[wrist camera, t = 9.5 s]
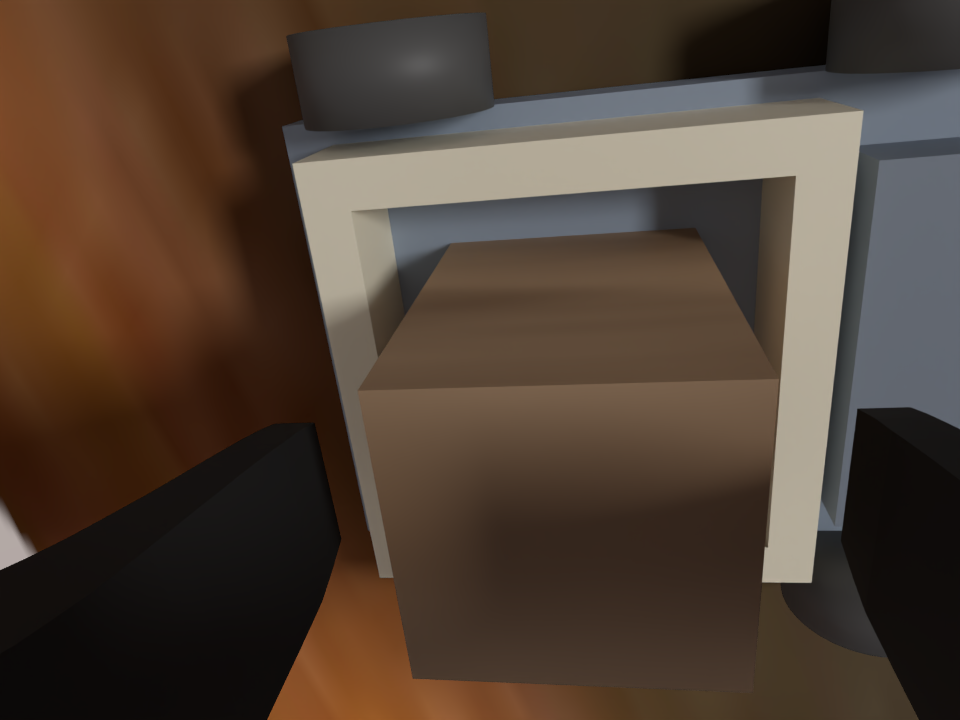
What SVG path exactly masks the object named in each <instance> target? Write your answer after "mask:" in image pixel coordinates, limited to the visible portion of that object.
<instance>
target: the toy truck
mask: <svg viewBox="0 0 960 720" xmlns="http://www.w3.org/2000/svg"><path fill="white" fill-rule="evenodd" d="M286 37H287V42H288V47H289V52H290V57H291V62H292V67H293V72H294V77H295V82H296V87H297V92H298V97H299V102H300V107H301V112H302V117H303V120H301V121H298V122H295V123H291V124H288V125H285V126H282V128H283V133H284V138H285V143H286V147H287V152H288V157H289V161H290V166H291V171H292V175H293V180H294V185H295V190H296V194H297V199H298V204H299V208H300V213H301V218H302V222H303V227H304V232H305V236H306V241H307V246H308V251H309V255H310V260H311V265H312V269H313V274H314V279H315V283H316V288H317V293H318V298H319V302H320V307H321V312H322V316H323V321H324V326H325V330H326V335H327V340H328V344H329V349H330V354H331V359H332V363H333V368H334V373H335V377H336V382H337V387H338V391H339V396H340V401H341V405H342V410H343V415H344V420H345V424H346V429H347V434H348V438H349V443H350V448H351V452H352V457H353V462H354V467H355V471H356V476H357V481H358V485H359V490H360V495H361V499H362V504H363V509H364V513H365V518H366V523H367V528H368V531H370V534H371V538H372V543H373V548H374V552H375V557H376V562H377V567H378V571H379V576H380V578H393V573H392V568H391V562H390V557H389V552H388V547H387V542H386V536H385V531H384V526H383V521H382V516H381V510H380V505H379V500H378V495H377V490H376V484H375V479H374V474H373V469H372V464H371V459H370V453H369V448H368V443H367V438H366V433H365V427H364V422H363V417H362V412H361V407H360V401H359V396H358V389H359V387H360V386H361V384H362V383H363V381H364V380H365V378H366V376H367V375H368V373H369V372H370V370H371V369H372V367H373V365H374V364H375V362H376V361H377V359H378V358H379V356H380V354H381V353H382V351H383V350H384V348H385V347H386V345H387V343H388V342H389V340H390V339H391V337H392V336H393V334H394V332H395V331H396V329H397V328H398V326H399V325H400V323H401V321H402V320H403V318H404V317H405V315H406V314H407V312H408V310H409V309H410V307H411V306H412V304H413V303H414V301H415V299H416V298H417V296H418V295H419V293H420V291H421V290H422V288H423V287H424V285H425V284H426V282H427V280H428V279H429V277H430V276H431V274H432V273H433V271H434V269H435V268H436V266H437V265H438V263H439V262H440V260H441V258H442V257H443V255H444V254H445V252H446V251H447V249H448V247H449V246H450V244H451V243H460V242H476V241H492V240H508V239H524V238H540V237H556V236H572V235H588V234H604V233H620V232H636V231H652V230H668V229H684V228H696V230H697V232H698V233H699V235H700V237H701V239H702V241H703V242H704V244H705V246H706V248H707V250H708V251H709V253H710V255H711V257H712V259H713V261H714V262H715V264H716V266H717V268H718V270H719V271H720V273H721V275H722V277H723V279H724V280H725V282H726V284H727V286H728V288H729V289H730V291H731V293H732V295H733V297H734V299H735V300H736V302H737V304H738V306H739V308H740V309H741V311H742V313H743V315H744V317H745V318H746V320H747V322H748V324H749V326H750V328H751V329H752V331H753V333H754V335H755V337H756V338H757V340H758V342H759V344H760V346H761V347H762V349H763V351H764V353H765V355H766V356H767V358H768V360H769V362H770V364H771V366H772V367H773V369H774V371H775V373H776V375H777V376H778V378H779V384H778V396H777V408H776V420H775V432H774V444H773V456H772V468H771V480H770V492H769V504H768V516H767V528H766V540H765V552H764V564H763V577H762V582H781V590H782V594H783V597H784V599H785V602H786V604H787V605H788V607H789V608H790V610H791V611H792V612H793V613H794V615H795V616H796V617H797V618H798V619H799V620H800V621H801V622H802V623H803V624H804V625H806V626H807V627H808V628H809V629H811V630H812V631H813V632H815V633H817V634H818V635H820V636H821V637H823V638H825V639H827V640H829V641H830V642H832V643H834V644H837V645H839V646H841V647H844V648H847V649H850V650H853V651H856V652H859V653H863V654H867V655H872V656H879V657H887V655H886V653H885V651H884V649H883V647H882V645H881V643H880V641H879V639H878V637H877V635H876V633H875V631H874V629H873V627H872V625H871V623H870V621H869V619H868V617H867V615H866V613H865V610H864V607H863V605H862V602H861V599H860V596H859V594H858V591H857V588H856V585H855V582H854V580H853V577H852V574H851V570H850V567H849V564H848V561H847V558H846V555H845V552H844V549H843V546H842V543H841V534H842V526H843V519H844V511H845V503H846V495H847V487H848V479H849V471H850V463H851V455H852V447H853V439H854V432H855V424H856V416H857V409H859V408H897V407H912V408H914V409H917V410H919V411H922V412H924V413H927V414H929V415H931V416H934V417H936V418H938V419H940V420H942V421H944V422H946V423H948V424H951V425H953V426H955V427H957V428H959V429H960V0H831V10H830V22H829V33H828V44H827V56H826V65H820V66H810V67H800V68H791V69H781V70H772V71H762V72H752V73H743V74H733V75H723V76H714V77H704V78H695V79H685V80H675V81H666V82H656V83H647V84H637V85H627V86H618V87H608V88H598V89H589V90H579V91H570V92H560V93H550V94H541V95H531V96H521V97H512V98H502V99H494V96H493V85H492V74H491V64H490V53H489V42H488V32H487V21H486V13H464V14H451V15H439V16H429V17H419V18H409V19H400V20H391V21H382V22H374V23H365V24H357V25H350V26H342V27H335V28H328V29H321V30H314V31H308V32H302V33H296V34H292V35H288V36H286Z"/></svg>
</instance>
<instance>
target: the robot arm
mask: <svg viewBox="0 0 960 720" xmlns="http://www.w3.org/2000/svg"><path fill="white" fill-rule="evenodd" d="M340 542H341V535H340V531H339V527H338V522H337V518H336V514H335V509H334V505H333V501H332V496H331V492H330V488H329V484H328V479H327V475H326V471H325V466H324V462H323V458H322V453H321V449H320V445H319V440H318V436H317V432H316V427H315V423H283V424H273V425H271V426H268V427H266V428H264V429H261V430H259V431H257V432H255V433H253V434H251V435H249V436H248V437H246V438H244V439H242V440H240V441H238V442H237V443H235V444H233V445H231V446H229V447H228V448H226V449H224V450H222V451H221V452H219V453H217V454H216V455H214V456H212V457H210V458H209V459H207V460H205V461H204V462H202V463H200V464H198V465H197V466H195V467H193V468H192V469H190V470H188V471H187V472H185V473H183V474H181V475H180V476H178V477H176V478H175V479H173V480H171V481H169V482H168V483H166V484H164V485H163V486H161V487H159V488H158V489H156V490H154V491H152V492H151V493H149V494H147V495H145V496H144V497H142V498H140V499H138V500H136V501H134V502H133V503H131V504H129V505H127V506H125V507H123V508H122V509H120V510H118V511H116V512H114V513H113V514H111V515H109V516H107V517H105V518H103V519H102V520H100V521H98V522H96V523H94V524H92V525H91V526H89V527H87V528H85V529H83V530H81V531H80V532H78V533H76V534H74V535H72V536H70V537H68V538H66V539H64V540H62V541H60V542H58V543H57V544H55V545H53V546H51V547H49V548H46V549H44V550H42V551H40V552H38V553H36V554H34V555H32V556H30V557H28V558H26V559H24V560H22V561H19V562H18V563H15V564H13V565H11V566H9V567H6V568H4V569H2V570H0V720H267V719H268V716H269V714H270V712H271V710H272V708H273V706H274V704H275V702H276V699H277V697H278V695H279V693H280V691H281V689H282V687H283V685H284V683H285V680H286V678H287V676H288V674H289V672H290V670H291V668H292V666H293V664H294V661H295V659H296V657H297V655H298V653H299V651H300V649H301V647H302V644H303V642H304V640H305V638H306V636H307V634H308V631H309V629H310V627H311V625H312V623H313V621H314V618H315V616H316V614H317V612H318V609H319V607H320V605H321V603H322V600H323V597H324V594H325V591H326V588H327V585H328V582H329V579H330V576H331V573H332V569H333V566H334V562H335V559H336V555H337V552H338V548H339V545H340ZM841 543H842V546H843V549H844V552H845V555H846V558H847V561H848V564H849V567H850V570H851V574H852V577H853V580H854V582H855V585H856V588H857V591H858V594H859V596H860V599H861V602H862V605H863V607H864V610H865V613H866V615H867V617H868V619H869V621H870V623H871V625H872V627H873V629H874V631H875V633H876V635H877V637H878V639H879V641H880V643H881V645H882V647H883V649H884V651H885V653H886V655H887V657H888V659H889V661H890V663H891V665H892V667H893V669H894V671H895V673H896V675H897V677H898V679H899V681H900V683H901V685H902V687H903V689H904V691H905V693H906V695H907V697H908V699H909V701H910V703H911V705H912V707H913V709H914V711H915V713H916V715H917V717H918V719H919V720H960V429H959V428H957V427H955V426H953V425H951V424H948V423H946V422H944V421H942V420H940V419H938V418H936V417H934V416H931V415H929V414H927V413H924V412H922V411H919V410H917V409H914V408H912V407H897V408H859V409H857V416H856V424H855V432H854V439H853V447H852V455H851V463H850V471H849V479H848V487H847V495H846V503H845V511H844V519H843V526H842V534H841Z"/></svg>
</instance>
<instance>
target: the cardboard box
mask: <svg viewBox="0 0 960 720" xmlns="http://www.w3.org/2000/svg"><path fill="white" fill-rule="evenodd" d="M778 384H779V378H778V376H777V375H776V373H775V371H774V369H773V367H772V366H771V364H770V362H769V360H768V358H767V356H766V355H765V353H764V351H763V349H762V347H761V346H760V344H759V342H758V340H757V338H756V337H755V335H754V333H753V331H752V329H751V328H750V326H749V324H748V322H747V320H746V318H745V317H744V315H743V313H742V311H741V309H740V308H739V306H738V304H737V302H736V300H735V299H734V297H733V295H732V293H731V291H730V289H729V288H728V286H727V284H726V282H725V280H724V279H723V277H722V275H721V273H720V271H719V270H718V268H717V266H716V264H715V262H714V261H713V259H712V257H711V255H710V253H709V251H708V250H707V248H706V246H705V244H704V242H703V241H702V239H701V237H700V235H699V233H698V232H697V230H696V228H684V229H668V230H652V231H636V232H620V233H604V234H588V235H572V236H556V237H540V238H524V239H508V240H492V241H476V242H460V243H451V244H450V246H449V247H448V249H447V251H446V252H445V254H444V255H443V257H442V258H441V260H440V262H439V263H438V265H437V266H436V268H435V269H434V271H433V273H432V274H431V276H430V277H429V279H428V280H427V282H426V284H425V285H424V287H423V288H422V290H421V291H420V293H419V295H418V296H417V298H416V299H415V301H414V303H413V304H412V306H411V307H410V309H409V310H408V312H407V314H406V315H405V317H404V318H403V320H402V321H401V323H400V325H399V326H398V328H397V329H396V331H395V332H394V334H393V336H392V337H391V339H390V340H389V342H388V343H387V345H386V347H385V348H384V350H383V351H382V353H381V354H380V356H379V358H378V359H377V361H376V362H375V364H374V365H373V367H372V369H371V370H370V372H369V373H368V375H367V376H366V378H365V380H364V381H363V383H362V384H361V386H360V387H359V389H358V396H359V401H360V407H361V412H362V417H363V422H364V427H365V433H366V438H367V443H368V448H369V453H370V459H371V464H372V469H373V474H374V479H375V484H376V490H377V495H378V500H379V505H380V510H381V516H382V521H383V526H384V531H385V536H386V542H387V547H388V552H389V557H390V562H391V568H392V573H393V578H394V583H395V588H396V594H397V599H398V604H399V609H400V614H401V620H402V625H403V630H404V635H405V640H406V645H407V651H408V656H409V661H410V666H411V671H412V677H413V679H435V680H459V681H483V682H506V683H530V684H554V685H578V686H601V687H625V688H649V689H672V690H696V691H720V692H743V693H753V685H754V673H755V661H756V649H757V637H758V625H759V613H760V601H761V589H762V577H763V564H764V552H765V540H766V528H767V516H768V504H769V492H770V480H771V468H772V456H773V444H774V432H775V420H776V408H777V396H778Z"/></svg>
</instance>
